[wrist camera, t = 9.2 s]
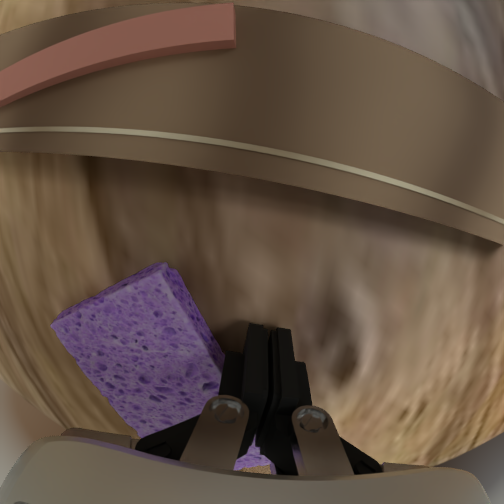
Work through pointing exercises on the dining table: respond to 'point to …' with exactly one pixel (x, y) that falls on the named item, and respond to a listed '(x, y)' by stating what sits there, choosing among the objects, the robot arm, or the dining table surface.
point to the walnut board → (279, 114)
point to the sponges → (148, 351)
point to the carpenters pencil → (122, 47)
